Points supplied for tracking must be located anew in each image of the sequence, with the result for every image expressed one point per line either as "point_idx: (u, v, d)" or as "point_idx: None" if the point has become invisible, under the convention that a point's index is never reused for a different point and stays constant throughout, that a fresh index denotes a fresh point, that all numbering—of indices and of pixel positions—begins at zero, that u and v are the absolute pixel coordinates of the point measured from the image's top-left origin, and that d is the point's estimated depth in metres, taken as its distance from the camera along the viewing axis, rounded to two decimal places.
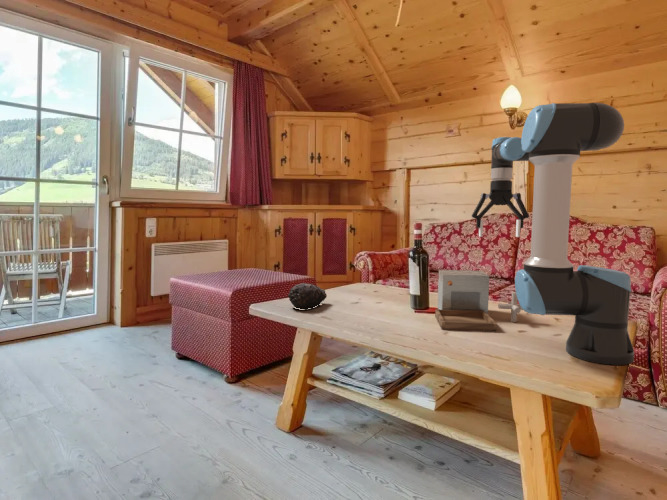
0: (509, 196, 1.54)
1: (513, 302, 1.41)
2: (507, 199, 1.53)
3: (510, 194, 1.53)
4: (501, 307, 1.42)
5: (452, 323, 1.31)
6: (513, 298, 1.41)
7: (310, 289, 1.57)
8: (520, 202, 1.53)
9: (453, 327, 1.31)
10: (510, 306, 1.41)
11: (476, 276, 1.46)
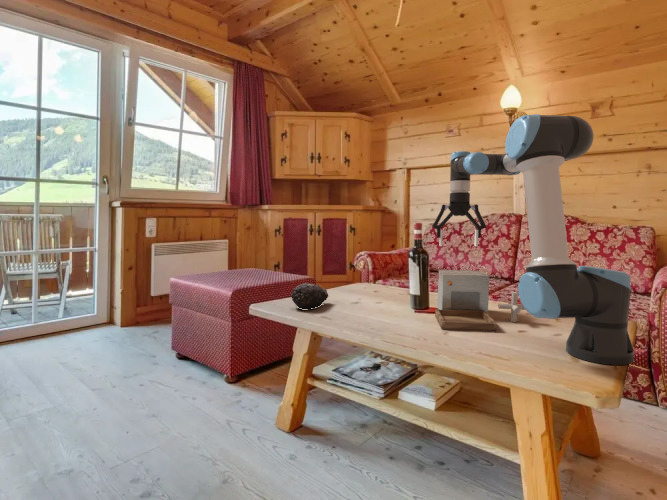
0: (467, 207, 1.60)
1: (513, 302, 1.41)
2: (465, 210, 1.60)
3: (468, 205, 1.60)
4: (501, 307, 1.42)
5: (452, 323, 1.31)
6: (513, 298, 1.41)
7: (313, 289, 1.58)
8: (477, 213, 1.60)
9: (453, 327, 1.31)
10: (510, 306, 1.41)
11: (476, 276, 1.46)
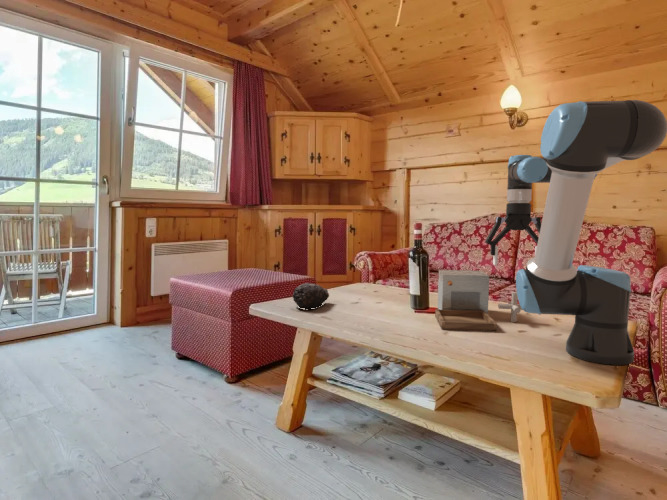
0: (528, 220, 1.37)
1: (513, 302, 1.41)
2: (525, 224, 1.37)
3: (529, 218, 1.37)
4: (501, 307, 1.42)
5: (452, 323, 1.31)
6: (513, 298, 1.41)
7: (315, 289, 1.58)
8: (540, 227, 1.37)
9: (453, 327, 1.31)
10: (510, 306, 1.41)
11: (476, 276, 1.46)
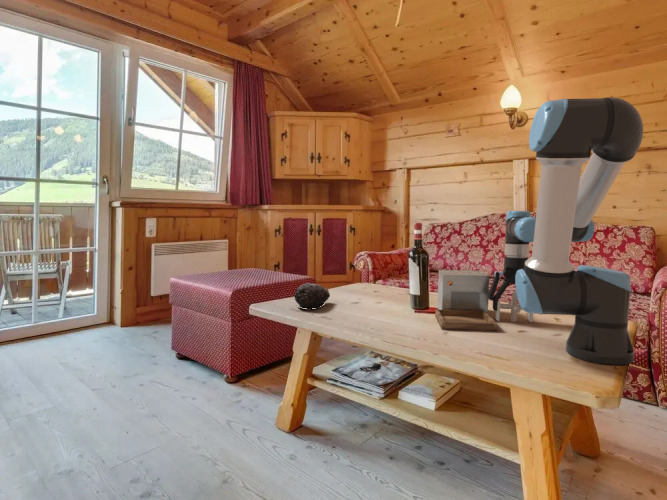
0: None
1: (513, 302, 1.41)
2: None
3: None
4: (501, 307, 1.42)
5: (452, 323, 1.31)
6: (513, 298, 1.41)
7: (316, 289, 1.58)
8: None
9: (453, 327, 1.31)
10: (510, 306, 1.41)
11: (476, 276, 1.46)
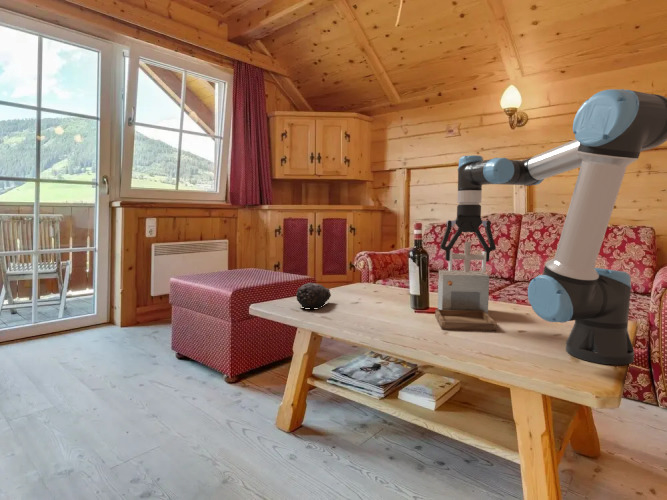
0: (478, 222, 1.35)
1: (466, 252, 1.36)
2: (475, 226, 1.34)
3: (479, 220, 1.34)
4: (454, 257, 1.37)
5: (452, 323, 1.31)
6: (466, 247, 1.36)
7: (318, 288, 1.58)
8: (489, 231, 1.34)
9: (453, 327, 1.31)
10: (463, 256, 1.37)
11: (476, 276, 1.46)
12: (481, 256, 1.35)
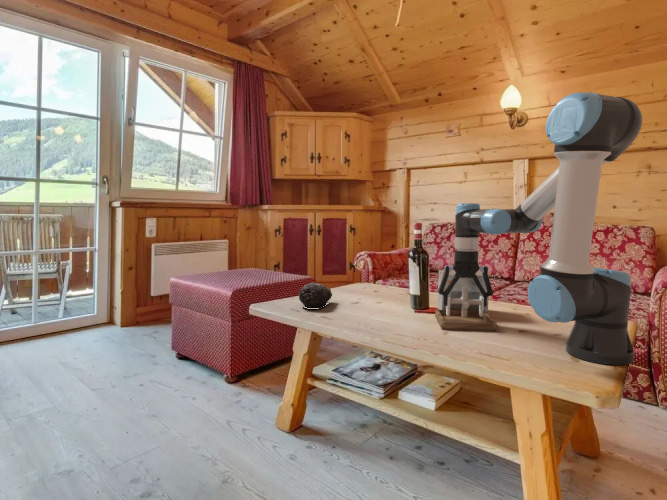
0: (475, 268, 1.36)
1: (463, 297, 1.38)
2: (472, 272, 1.35)
3: (476, 266, 1.36)
4: (451, 302, 1.39)
5: (452, 323, 1.31)
6: (463, 293, 1.38)
7: None
8: (486, 277, 1.36)
9: (453, 327, 1.31)
10: (460, 301, 1.38)
11: None
12: (478, 301, 1.37)
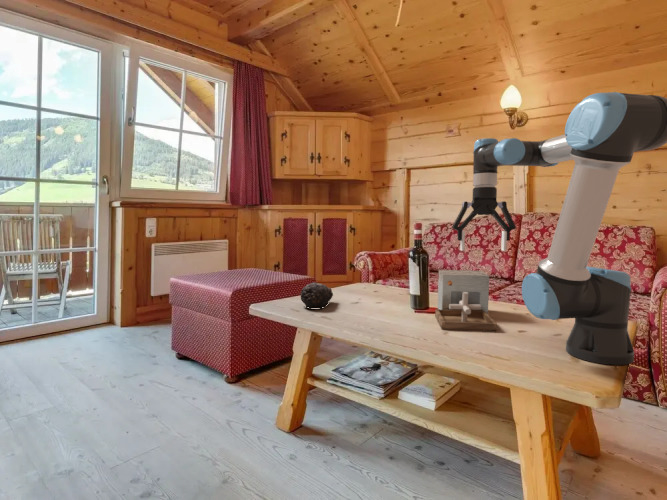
0: (494, 205, 1.36)
1: (464, 302, 1.37)
2: (491, 208, 1.36)
3: (495, 202, 1.36)
4: (452, 308, 1.38)
5: (452, 323, 1.31)
6: (464, 298, 1.37)
7: (323, 288, 1.59)
8: (506, 211, 1.36)
9: (453, 327, 1.31)
10: (461, 307, 1.37)
11: (476, 276, 1.46)
12: (479, 307, 1.37)
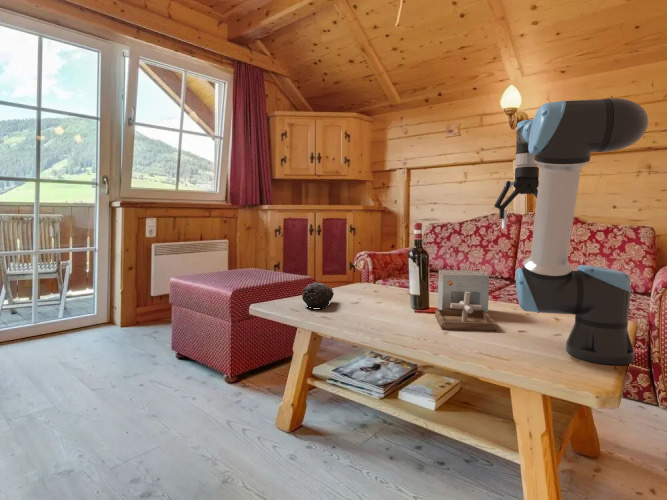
0: (536, 184, 1.41)
1: (465, 302, 1.38)
2: (533, 187, 1.41)
3: (537, 182, 1.41)
4: (453, 307, 1.38)
5: (452, 323, 1.31)
6: (466, 298, 1.37)
7: (324, 288, 1.59)
8: None
9: (453, 327, 1.31)
10: (462, 306, 1.38)
11: (476, 276, 1.46)
12: (480, 307, 1.38)
